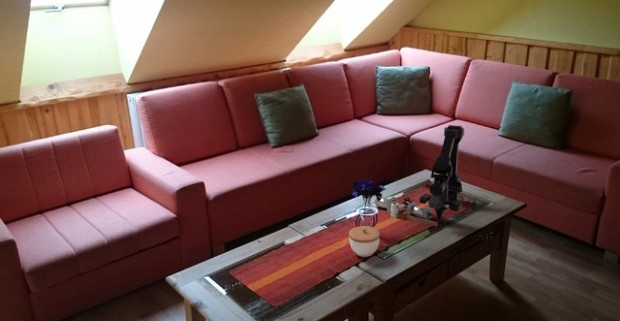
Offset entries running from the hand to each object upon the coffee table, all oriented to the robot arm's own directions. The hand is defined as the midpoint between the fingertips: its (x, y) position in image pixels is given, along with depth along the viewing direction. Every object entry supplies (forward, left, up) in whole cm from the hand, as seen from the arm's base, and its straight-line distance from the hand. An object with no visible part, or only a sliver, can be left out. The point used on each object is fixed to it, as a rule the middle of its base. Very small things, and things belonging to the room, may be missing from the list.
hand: (439, 219), depth 239 cm
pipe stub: (0, -29, -2) cm, 29 cm away
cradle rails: (0, -7, -2) cm, 7 cm away
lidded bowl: (+42, -15, -2) cm, 45 cm away
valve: (+1, -20, -2) cm, 20 cm away
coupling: (0, -10, -2) cm, 10 cm away
